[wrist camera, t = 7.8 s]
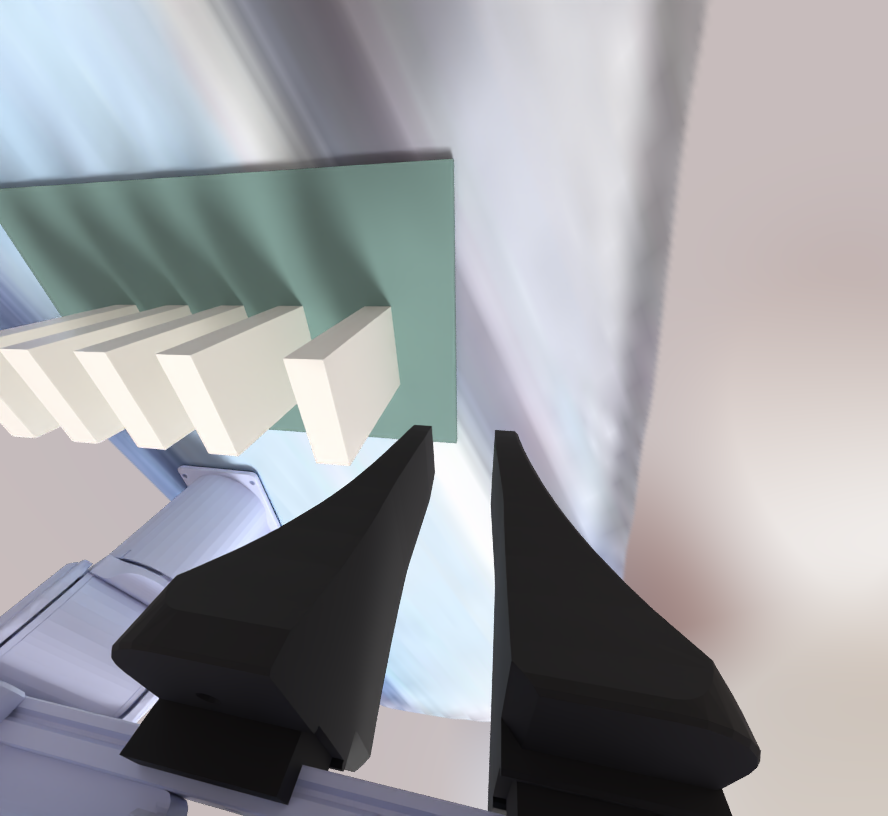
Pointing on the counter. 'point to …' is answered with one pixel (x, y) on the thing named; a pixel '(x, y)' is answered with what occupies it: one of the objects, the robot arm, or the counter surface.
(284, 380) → the domino
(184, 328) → the domino
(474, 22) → the counter surface
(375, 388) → the domino
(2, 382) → the end domino
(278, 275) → the mat
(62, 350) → the domino
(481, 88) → the counter surface
